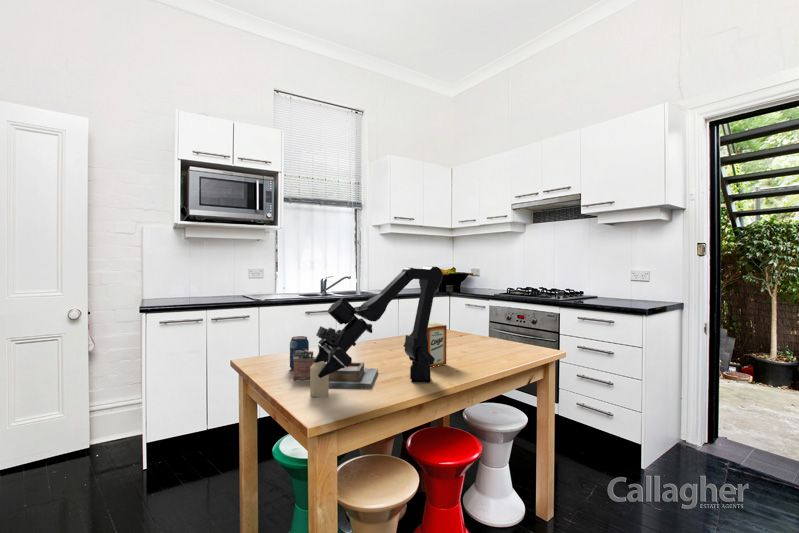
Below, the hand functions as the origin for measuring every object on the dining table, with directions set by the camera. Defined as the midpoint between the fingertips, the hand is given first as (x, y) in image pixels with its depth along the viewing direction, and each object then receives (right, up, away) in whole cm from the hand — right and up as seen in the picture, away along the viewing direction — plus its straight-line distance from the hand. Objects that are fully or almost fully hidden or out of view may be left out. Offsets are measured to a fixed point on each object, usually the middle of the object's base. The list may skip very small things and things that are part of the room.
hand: (315, 372), depth 121 cm
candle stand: (+7, -7, +16) cm, 19 cm away
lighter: (-7, -7, +16) cm, 19 cm away
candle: (+1, -7, +1) cm, 7 cm away
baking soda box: (+38, -7, +36) cm, 53 cm away
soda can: (-12, -6, +29) cm, 32 cm away
